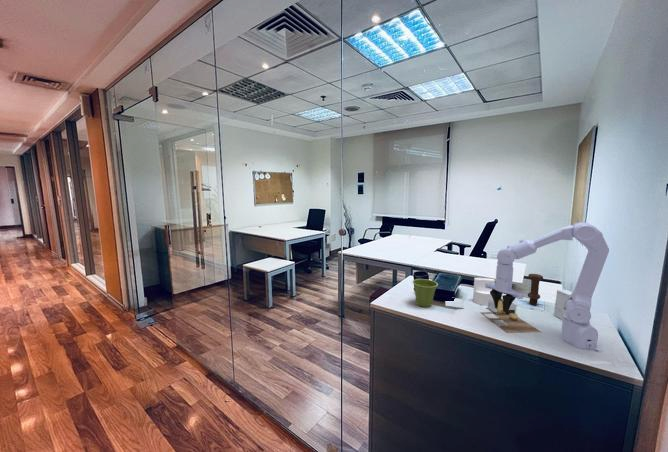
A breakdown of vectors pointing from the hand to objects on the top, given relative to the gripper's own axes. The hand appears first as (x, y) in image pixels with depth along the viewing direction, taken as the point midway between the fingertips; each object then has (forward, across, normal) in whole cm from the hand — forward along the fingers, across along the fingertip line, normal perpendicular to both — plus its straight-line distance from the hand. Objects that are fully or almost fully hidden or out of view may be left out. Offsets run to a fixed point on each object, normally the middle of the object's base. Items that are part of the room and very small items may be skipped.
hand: (501, 309), depth 111 cm
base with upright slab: (+7, +20, -16) cm, 26 cm away
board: (+7, +2, -5) cm, 9 cm away
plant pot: (+7, +29, +14) cm, 33 cm away
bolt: (+7, +7, -35) cm, 37 cm away
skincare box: (+7, -8, -32) cm, 33 cm away
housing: (+5, +7, -11) cm, 14 cm away
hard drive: (+8, +24, 0) cm, 25 cm away
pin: (+2, 0, 0) cm, 2 cm away
